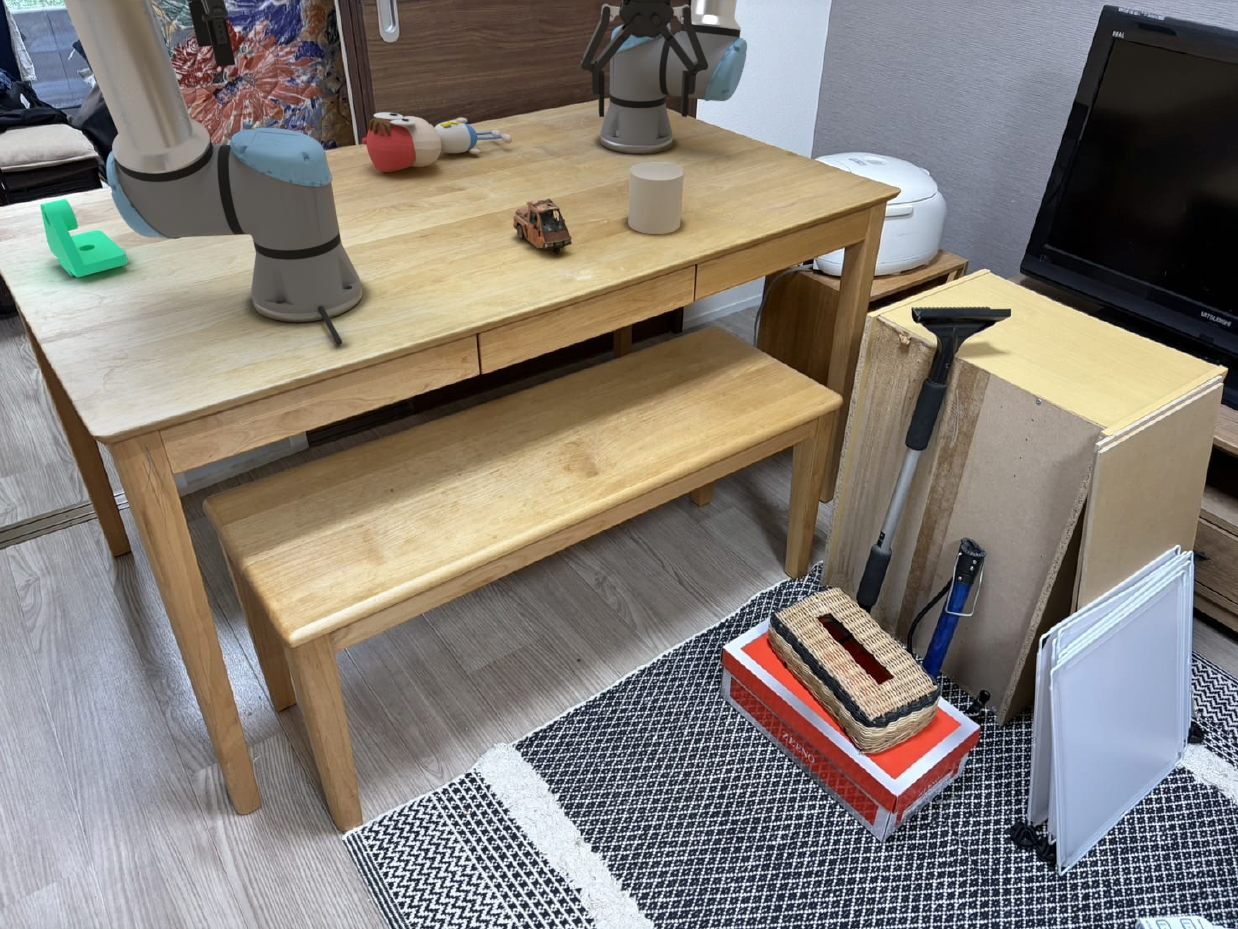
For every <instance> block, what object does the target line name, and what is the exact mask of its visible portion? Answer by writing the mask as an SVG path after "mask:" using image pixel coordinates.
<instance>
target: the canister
mask: <svg viewBox="0 0 1238 929" xmlns="http://www.w3.org/2000/svg"><path fill="white" fill-rule="evenodd" d="M684 175H685V171H684V169H683V168H682V167H681V166H679V165H677V164H674V163H671V162H665V161H643V162H638V163H636V164H634V165H632V166H631V167H630V168H629V183H628V184H629V188H628V214H627V215H628V218H627V219H628V220H627V223H628V226H629V227H630V228H631V229H632V230H634V231H635V232H639V233H642V234H648V235H665V234H670V233H673V232H676V231H677V230H679V229H680V227H681V219H682V206H683V205H682V204H683V191H684Z"/></svg>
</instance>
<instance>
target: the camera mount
mask: <svg viewBox="0 0 1238 929" xmlns="http://www.w3.org/2000/svg"><path fill="white" fill-rule="evenodd" d="M39 207H40V212H41V218H42V222H43V226H44V231H45V237H46V242H47V244H48V247H49V250H50V253H52V254H53V255H54V256H55V257H56V258H57V259H58V262H59V264H60V266H61V267H62V268H63V270H65V272H66V273H67V274H68V275H69V276H70V277H73V276H74V277H75V278H81V277H85V276H88V275H92V274H96V273H100V272H104V271H107V270H110V269H115V268H118V267H122V266H125V265H127V264H128V263H129V260H128V257H127V254H126V251H124V249H123V248H121V247H120V246H119V245H118V244H117V243H116V242H115V241H113V240H112V239H111V238H110V237H109V236H108V235H107V234H106V233H105V232H103V231H102V230H98V229H97V230H90V231H86V232H83V233H79V234H74V235H71V233H70V232H69V231H73V230H78V229H79V224H78V220H77V216H76V213H75V212H74V209H73V208H72V206H71V204H70V202H69V201H68V200H67V199H66V198H63V199H58V200H54V201H50V202H45V203H40V206H39Z"/></svg>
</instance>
